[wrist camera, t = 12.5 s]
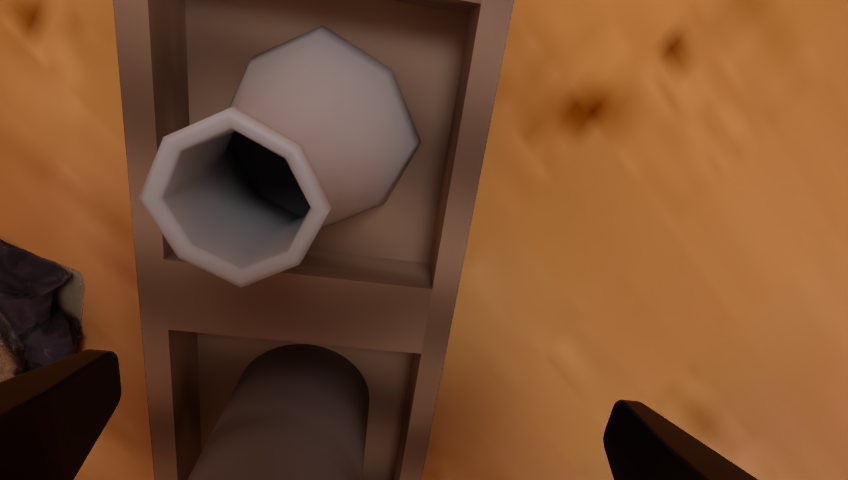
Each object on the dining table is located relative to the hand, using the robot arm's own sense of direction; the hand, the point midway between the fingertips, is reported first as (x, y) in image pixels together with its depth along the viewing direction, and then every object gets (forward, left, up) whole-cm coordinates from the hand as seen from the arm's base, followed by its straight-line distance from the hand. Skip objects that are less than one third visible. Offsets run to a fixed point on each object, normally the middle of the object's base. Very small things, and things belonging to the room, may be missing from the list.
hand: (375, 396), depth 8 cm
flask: (+3, +3, -12) cm, 12 cm away
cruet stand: (-4, +3, -12) cm, 13 cm away
